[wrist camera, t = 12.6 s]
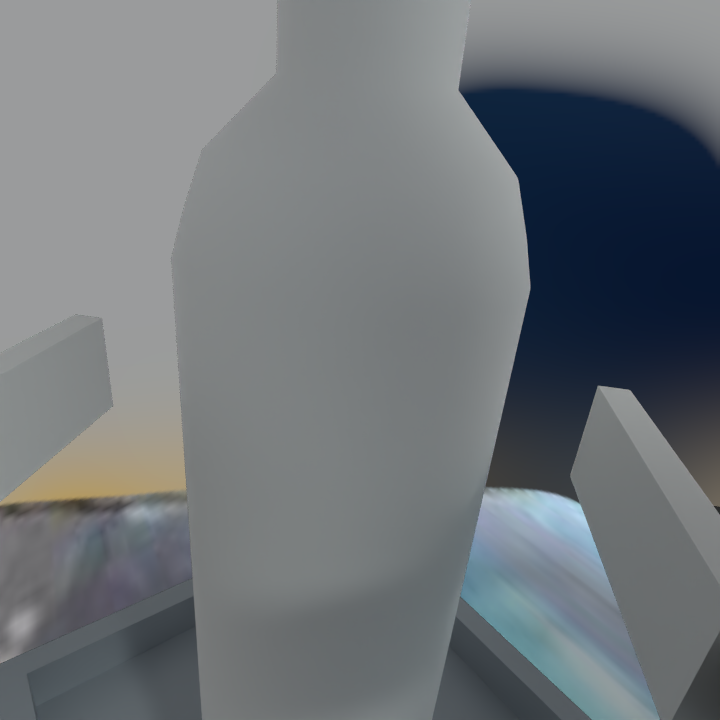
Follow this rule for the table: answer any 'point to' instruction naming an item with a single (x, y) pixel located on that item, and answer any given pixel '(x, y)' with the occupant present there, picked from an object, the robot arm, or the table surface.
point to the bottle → (343, 364)
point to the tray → (181, 672)
